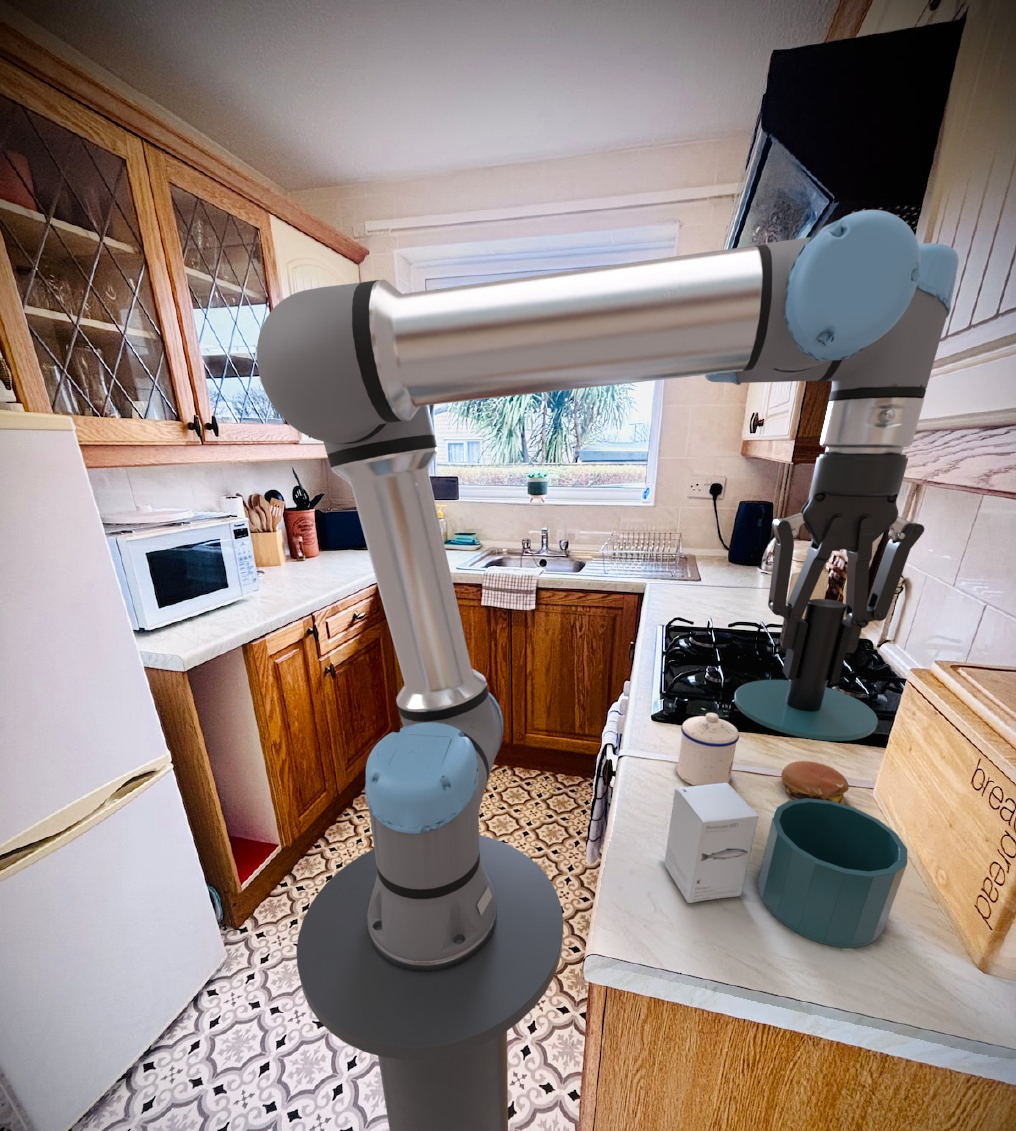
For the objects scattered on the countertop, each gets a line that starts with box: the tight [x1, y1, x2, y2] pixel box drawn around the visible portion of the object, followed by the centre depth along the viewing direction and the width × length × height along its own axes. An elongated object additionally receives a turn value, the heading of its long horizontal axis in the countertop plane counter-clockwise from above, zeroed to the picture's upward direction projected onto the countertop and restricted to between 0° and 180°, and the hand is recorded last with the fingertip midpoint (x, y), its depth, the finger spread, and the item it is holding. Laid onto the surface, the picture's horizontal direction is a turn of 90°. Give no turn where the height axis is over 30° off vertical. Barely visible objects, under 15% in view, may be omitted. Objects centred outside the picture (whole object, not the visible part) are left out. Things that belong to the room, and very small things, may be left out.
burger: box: [781, 760, 850, 805], centre depth 87 cm, size 10×9×5 cm
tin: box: [757, 798, 908, 949], centre depth 65 cm, size 14×14×10 cm
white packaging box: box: [663, 782, 759, 904], centre depth 68 cm, size 7×7×13 cm
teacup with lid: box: [676, 712, 740, 786], centre depth 93 cm, size 12×9×12 cm
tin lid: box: [733, 598, 879, 742], centre depth 60 cm, size 15×15×13 cm
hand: (809, 676), depth 61 cm, fingers closed on tin lid, 4 cm apart
